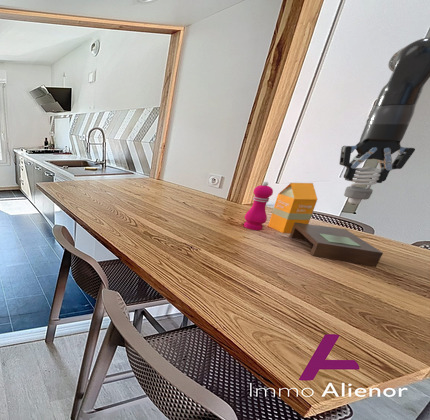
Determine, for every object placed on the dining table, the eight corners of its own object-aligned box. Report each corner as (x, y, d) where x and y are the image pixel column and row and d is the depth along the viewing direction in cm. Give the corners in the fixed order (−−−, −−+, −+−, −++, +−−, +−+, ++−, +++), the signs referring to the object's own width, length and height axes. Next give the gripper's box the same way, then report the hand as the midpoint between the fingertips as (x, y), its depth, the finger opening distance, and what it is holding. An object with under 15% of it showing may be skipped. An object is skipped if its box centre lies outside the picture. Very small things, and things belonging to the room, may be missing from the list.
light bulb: (347, 206, 75) (363, 167, 71) (334, 201, 80) (349, 164, 76) (372, 208, 73) (390, 168, 69) (357, 203, 78) (373, 165, 74)
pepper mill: (260, 226, 105) (274, 180, 99) (266, 232, 99) (280, 184, 93) (240, 223, 108) (252, 179, 102) (244, 229, 102) (257, 182, 96)
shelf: (339, 243, 89) (345, 228, 87) (374, 270, 73) (383, 252, 71) (289, 236, 96) (294, 221, 94) (311, 259, 79) (318, 242, 77)
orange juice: (267, 225, 106) (281, 180, 99) (288, 226, 105) (304, 181, 99) (282, 233, 98) (299, 185, 92) (305, 233, 98) (323, 185, 92)
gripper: (358, 122, 69) (336, 181, 74) (438, 122, 62) (407, 186, 68) (344, 123, 75) (324, 177, 80) (415, 123, 69) (388, 181, 74)
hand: (362, 181), depth 74 cm, fingers closed on light bulb, 5 cm apart
